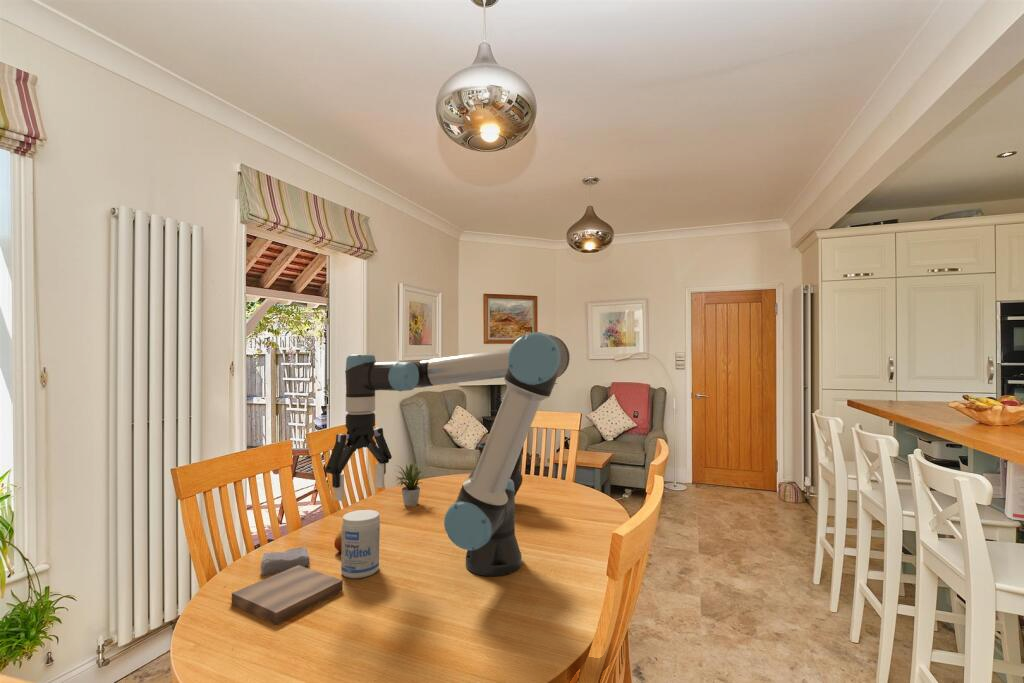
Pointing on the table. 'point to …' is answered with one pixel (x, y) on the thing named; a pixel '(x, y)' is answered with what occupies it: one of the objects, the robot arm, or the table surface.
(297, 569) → the walnut board
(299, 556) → the stone block
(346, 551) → the supplement tub
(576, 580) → the table surface
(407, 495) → the house plant
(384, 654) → the table surface
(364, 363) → the robot arm
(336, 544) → the fruit
